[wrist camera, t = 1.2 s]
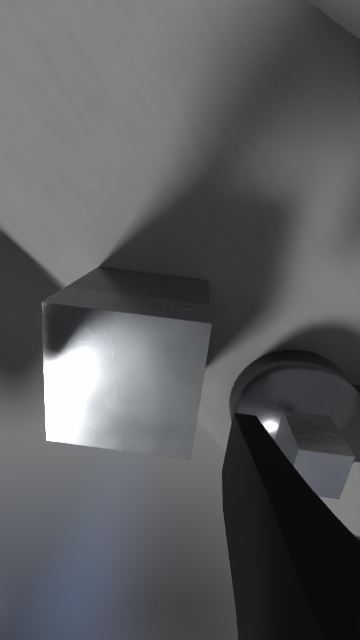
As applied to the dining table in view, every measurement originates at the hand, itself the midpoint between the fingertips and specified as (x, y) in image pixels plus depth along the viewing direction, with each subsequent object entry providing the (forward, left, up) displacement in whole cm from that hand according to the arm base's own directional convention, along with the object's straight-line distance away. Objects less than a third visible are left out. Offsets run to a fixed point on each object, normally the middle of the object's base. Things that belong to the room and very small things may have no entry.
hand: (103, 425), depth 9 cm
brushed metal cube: (0, 0, -8) cm, 8 cm away
